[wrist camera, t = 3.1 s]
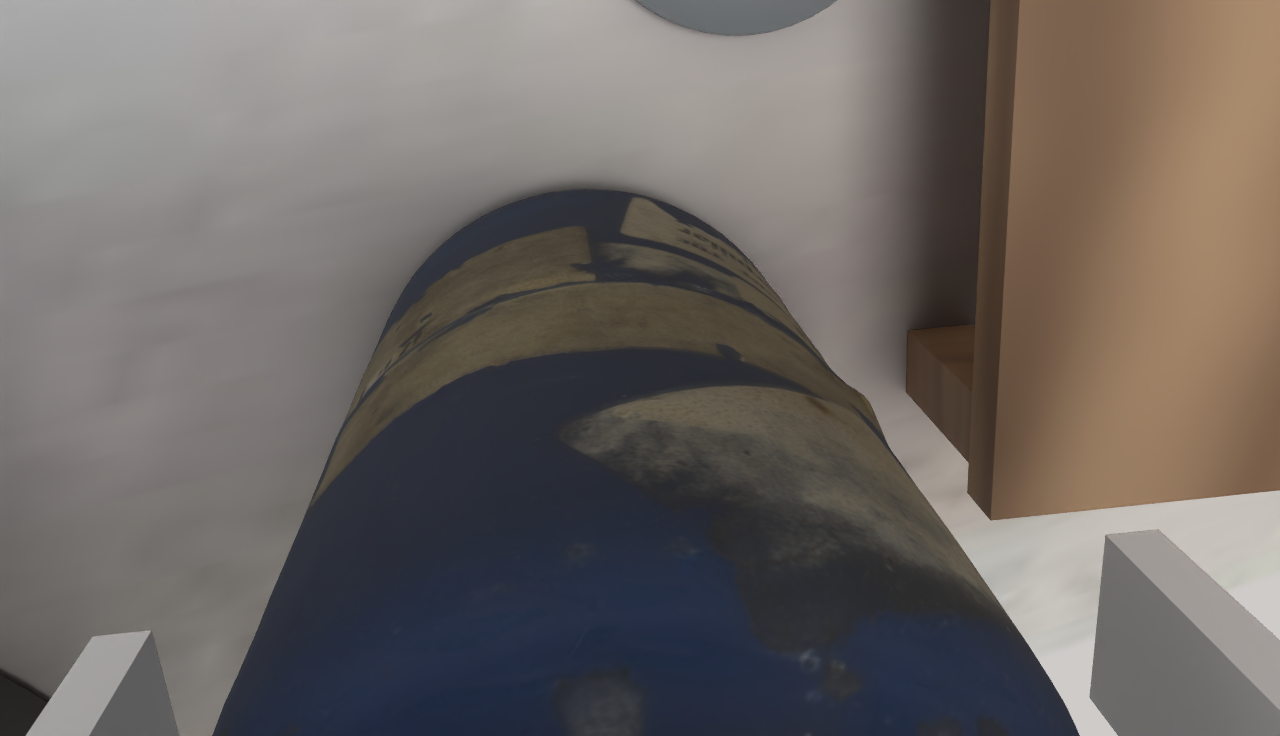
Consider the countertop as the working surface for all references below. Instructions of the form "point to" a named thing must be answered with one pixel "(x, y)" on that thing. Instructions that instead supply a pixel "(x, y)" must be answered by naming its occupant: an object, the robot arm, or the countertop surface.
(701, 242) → the canister
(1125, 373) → the step stool
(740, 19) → the slate coaster
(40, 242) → the countertop surface
